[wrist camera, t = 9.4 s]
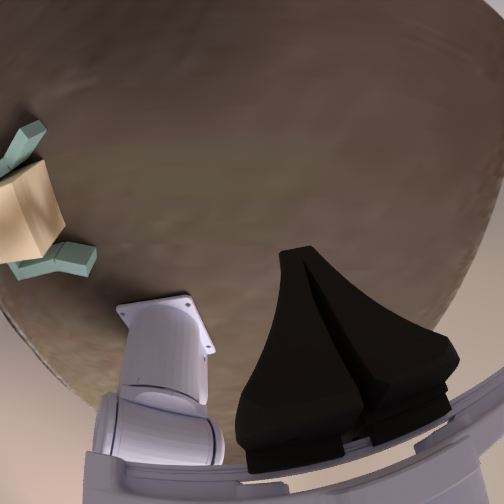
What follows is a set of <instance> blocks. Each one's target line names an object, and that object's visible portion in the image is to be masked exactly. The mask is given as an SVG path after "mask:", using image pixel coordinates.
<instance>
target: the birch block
mask: <svg viewBox="0 0 504 504" xmlns="http://www.w3.org/2000/svg"><path fill="white" fill-rule="evenodd" d="M65 226H66V225H65V223H64V220H63V217H62V215H61V212H60V209H59V206H58V204H57V201H56V198H55V195H54V192H53V189H52V186H51V183H50V179H49V176H48V173H47V169H46V166H45V162H44V159H43V160H41V161H38V162H35V163H33V164H30V165H27V166H25V167H22V168H20V169H18V170H15V171H13V172H10V173H8V174H6V175H4V176H2V177H0V264H2V263H9V262H16V261H23V260H30V259H37V258H43V256H44V255H45V253H46V252H47V251H48V249H49V248H50V246H51V245H52V243H53V242H54V241H55V239H56V238H57V237H58V235H59V234H60V233H61V231H62V230H63V229H64V227H65Z"/></svg>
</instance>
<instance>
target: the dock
mask: <svg viewBox="0 0 504 504" xmlns="http://www.w3.org/2000/svg"><path fill="white" fill-rule="evenodd" d="M46 131H47V129H46V127H45V126H44V125H43V124H42V123H41V122H40V120H37V121H35V122H32V123H30V124H28V125H25V126H23V127H21V128H20V129H19V130H18V132H17V134H16V135H15V137H14V139H13V141H12V142H11V144H10V146H9V148H8V150H7V152H6V154H5V156H4V158H2V159H1V160H0V177H2V176H3V175H5V174H6V173H8V172H9V171H11V170H12V169H14V168H15V167H17V166H18V165H19V164H21V163H22V162H24V161H25V160H27V159H28V158H29V157H30V155H31V154H32V152H33V150H34V149H35V147H36V146H37V144H38V143H39V141H40V140H41V138H42V137H43V135H44V134H45V132H46ZM96 259H97V253H96V247H94V246H89V245H84V244H78V243H73V242H68V241H66V243H65V242H61V243H58V244H54V245H51V246H50V248H49V249H48V251H47V252H46V253H45V255H44V256H43V258H37V259H30V260H23V261H16V262H9V263H7V264H8V265H9V267H10V268H11V270H12V271H13V273H14V275H15V276H16V278H17V279H18V281H19V280H23V279H27V278H31V277H35V276H39V275H43V274H47V273H51V272H56V271H62V272H66V273H71V274H75V275H80V276H84V277H88V275H89V273H90V271H91V269H92V267H93V265H94V263H95V261H96Z"/></svg>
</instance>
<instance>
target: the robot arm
mask: <svg viewBox="0 0 504 504" xmlns="http://www.w3.org/2000/svg"><path fill="white" fill-rule="evenodd" d="M279 260H280V268H281V281H280V291H279V297H278V302H277V307H276V312H275V316H274V320H273V323H272V327H271V330H270V333H269V336H268V339H267V341H266V344H265V347H264V349H263V351H262V354H261V356H260V358H259V360H258V363H257V365H256V367H255V369H254V371H253V373H252V375H251V377H250V379H249V381H248V382H247V384H246V386H245V388H244V389H243V391H242V393H241V397H240V401H239V404H238V409H237V413H236V419H235V432H236V441H237V443H238V444H239V445H240V446H241V447H242V448H243V449H244V450H245V451H246V460H247V463H241V464H227V465H222V462H223V458H224V450H225V445H224V438H223V434H222V431H221V429H220V427H219V425H218V423H217V422H216V421H215V419H213V418H212V417H210V416H207V406H206V402H207V398H208V385H207V354H212V353H215V347H214V345H213V343H212V341H211V339H210V337H209V334H208V332H207V330H206V328H205V326H204V324H203V322H202V319H201V317H200V315H199V313H198V311H197V308H196V306H195V304H194V302H193V300H192V297H191V296H189V295H181V296H174V297H168V298H162V299H156V300H149V301H142V302H136V303H129V304H122V305H117V307H116V311H117V313H118V314H119V316H120V317H121V318H122V320H123V321H124V323H125V324H126V325H127V327H128V328H129V332H128V337H127V341H126V346H125V351H124V356H123V361H122V366H121V371H120V377H119V383H118V389H117V392H116V394H115V393H112V392H108V393H107V394H106V395H104V396H102V397H101V400H100V403H99V407H98V411H97V416H96V422H95V428H94V436H93V452H90V451H87V452H86V456H85V466H84V480H83V481H84V482H83V504H489V501H488V496H487V493H486V489H485V484H484V480H483V476H482V473H481V470H480V460H479V457H480V456H481V455H482V454H484V453H485V452H486V451H487V450H488V449H490V448H491V447H492V446H493V445H494V444H495V443H496V442H497V441H499V439H501V438H502V437H503V436H504V367H503V368H501V369H500V370H499V371H497V372H496V373H494V374H493V375H491V376H490V377H489V378H487V379H486V380H484V381H483V382H481V383H480V384H478V385H476V386H475V387H473V388H472V389H470V390H468V391H467V392H465V393H463V394H461V395H460V396H458V397H456V398H455V399H453V400H451V401H449V400H448V398H447V396H446V394H445V393H446V392H447V391H448V388H447V385H446V383H445V381H446V380H447V379H448V378H449V377H450V375H451V374H452V373H453V372H454V371H455V369H456V367H457V366H458V364H459V361H460V358H459V356H458V354H457V352H456V350H455V348H454V347H453V345H452V343H451V342H450V340H449V339H448V337H446V336H443V335H441V334H438V333H436V332H433V331H431V330H428V329H425V328H423V327H421V326H419V325H417V324H414V323H412V322H410V321H408V320H406V319H404V318H402V317H401V316H399V315H397V314H395V313H393V312H392V311H390V310H388V309H386V308H385V307H383V306H382V305H380V304H378V303H377V302H375V301H374V300H373V299H371V298H370V297H368V296H367V295H366V294H364V293H363V292H362V291H360V290H359V289H358V288H356V287H355V286H354V285H353V284H351V283H350V282H349V281H348V280H347V279H346V278H344V277H343V276H342V275H341V274H340V273H339V272H338V271H337V270H336V269H334V268H333V267H332V266H331V265H330V264H329V263H328V262H327V261H326V260H325V259H324V258H323V257H322V256H321V255H320V254H319V253H318V252H317V251H316V250H315V249H314V248H313V247H312V246H305V247H300V248H295V249H290V250H285V251H281V252H280V253H279ZM187 303H190V304H187ZM448 420H449V421H448ZM446 421H448V423H447V424H446V425H445V426H443V427H442V428H440V429H438V430H436V431H434V432H433V433H432V434H431V435H429V436H428V437H426V438H425V439H423V440H422V441H420V442H418V443H417V444H415V445H414V449H415V452H416V455H414V456H411V457H409V458H407V459H405V460H402V461H400V462H398V463H395V464H393V465H390V466H388V467H385V468H383V469H380V470H377V471H375V472H372V473H369V474H366V475H363V476H360V477H357V478H354V479H351V480H347V481H344V482H340V483H337V484H333V485H329V486H325V487H321V488H317V489H312V490H307V491H302V492H297V493H292V494H290V492H289V487H288V485H287V484H284V483H283V482H271V483H258V484H245V485H244V484H242V483H240V482H246V481H256V480H265V479H273V478H280V477H286V476H292V475H297V474H303V473H307V472H312V471H317V470H321V469H325V468H329V467H333V466H337V465H340V464H344V463H347V462H351V461H354V460H357V459H360V458H363V457H366V456H369V455H372V454H375V453H378V452H381V451H383V450H386V449H388V448H391V447H393V446H396V445H398V444H401V443H403V442H405V441H408V440H410V439H412V438H414V437H416V436H418V435H421V434H422V433H425V432H427V431H429V430H431V429H433V428H435V427H437V426H439V425H440V424H442V423H444V422H446Z"/></svg>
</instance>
